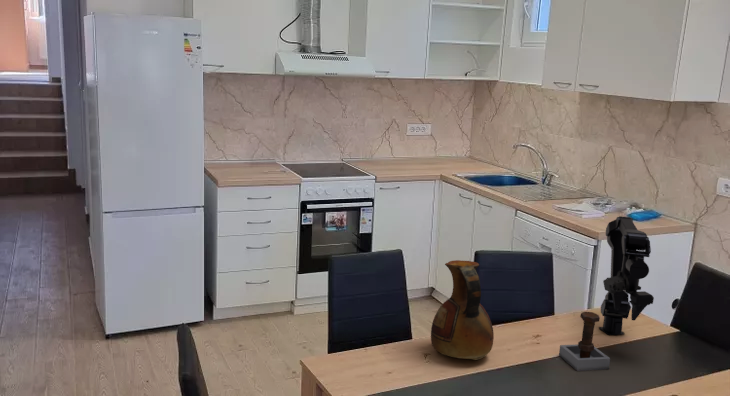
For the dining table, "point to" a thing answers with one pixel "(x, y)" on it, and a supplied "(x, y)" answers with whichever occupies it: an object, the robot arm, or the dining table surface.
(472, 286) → the ceramic pitcher
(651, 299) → the robot arm
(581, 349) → the bolt
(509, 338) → the dining table surface
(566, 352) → the socket block
